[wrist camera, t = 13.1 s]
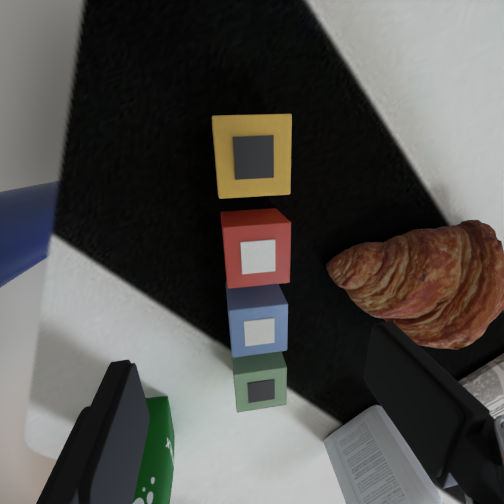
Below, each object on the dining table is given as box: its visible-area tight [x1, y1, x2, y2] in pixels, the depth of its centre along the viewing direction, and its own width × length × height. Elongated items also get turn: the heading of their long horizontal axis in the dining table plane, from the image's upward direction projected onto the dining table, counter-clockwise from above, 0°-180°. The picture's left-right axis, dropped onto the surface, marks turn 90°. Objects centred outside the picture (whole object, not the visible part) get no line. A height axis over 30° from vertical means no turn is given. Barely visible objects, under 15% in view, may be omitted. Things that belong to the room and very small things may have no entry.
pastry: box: [326, 220, 504, 350], centre depth 24 cm, size 17×15×8 cm
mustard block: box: [212, 114, 292, 199], centre depth 19 cm, size 5×5×5 cm
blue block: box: [226, 282, 288, 358], centre depth 24 cm, size 5×5×5 cm
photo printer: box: [324, 405, 444, 504], centre depth 31 cm, size 10×4×12 cm, turn 133°
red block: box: [221, 208, 291, 289], centre depth 21 cm, size 5×5×5 cm
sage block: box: [230, 339, 287, 412], centre depth 27 cm, size 5×5×5 cm
